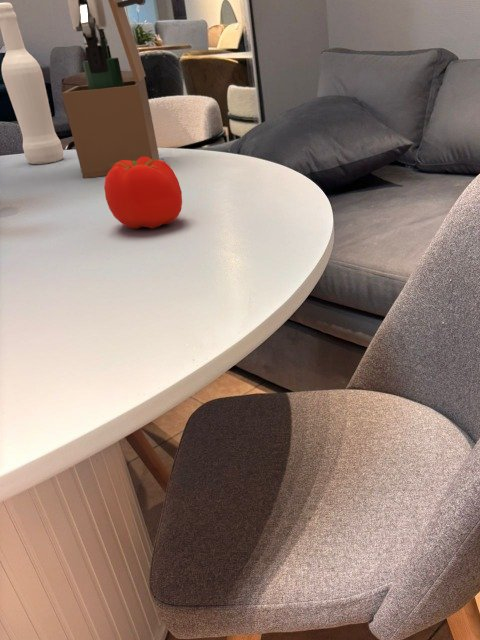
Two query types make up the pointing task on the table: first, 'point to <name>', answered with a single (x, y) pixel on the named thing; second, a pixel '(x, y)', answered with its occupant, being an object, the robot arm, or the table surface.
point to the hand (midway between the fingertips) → (102, 70)
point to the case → (110, 126)
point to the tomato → (143, 193)
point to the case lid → (128, 36)
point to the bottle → (27, 94)
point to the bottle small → (104, 73)
